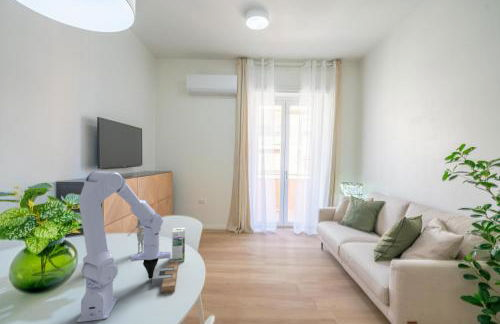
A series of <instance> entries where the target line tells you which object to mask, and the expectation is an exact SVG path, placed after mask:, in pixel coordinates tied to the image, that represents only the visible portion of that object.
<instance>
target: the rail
mask: <svg viewBox="0 0 500 324" xmlns="http://www.w3.org/2000/svg"><path fill="white" fill-rule="evenodd" d="M172 267H173V271H165V275H172V278H168V279H163V283H162V285H161V294H169V293H175V292H176V286H177V285H176V284H177V278H178V273H179V272H178V271H179V262H178V261H172V260H171V261H167V264H166V266H165V268H172Z"/></svg>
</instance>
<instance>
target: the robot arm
mask: <svg viewBox="0 0 500 324" xmlns="http://www.w3.org/2000/svg"><path fill="white" fill-rule="evenodd" d="M115 193H116V194H117V195H118V196H119V197H121V199H123V201H125V202H126V203H127V204H128V205H129V206H130V212H131V213H132V214H133V215H134V216H135V217H136V218H137V220H138V219H139V220H140V224H141V225H142V226H144V229H143V231H144V240H143V253H141V252H140V254H138V253H136V254H131V256H130V262H131V263H132V262H136V261H143V263H142V265H143V267H144V268H145V270H146V272H147V276H148V279H149V280H152V277H153V275H154V272H155V269H156V267H157V265H158V262H159V260H160V259H161V260H162V259H163V260H164V259H167V260H170V259H172V251H169V252H168V251H167V252H166V251H160V232H161V229H162V225H163V223H164V219H163V217H162V215H161V214H159V213H156V210H155V209H154V208H153V207H151V206H150V205H149V202H148V200H144V199H139V197H138V196H137V195H136V193H135V192H134V191H133V190H132V188H131V187H130V186H129V184H128V183H127V181H126V179H125V178H124V177H122V174H121V173H118V172H117V171H103V170H93V171H91V172H90V173H89V174H88V175H87V176H86V177H84V179H83V187H82V189H81V192H80V195H79V198H78V205H79V212H80V219H81V225H82V231H83V237H84V242H85V243H84V245H85V251H86V255H85V256H84V257H83V258H82V262H83V264H82V267H81V270H80V271H81V273H80V274H81V275H82V277H84V278H85V293H84V295H83V297H82V298H81V301H80V316H79V317H78V318H77V320H76V322H77V323H83V322H92V321H99V320H107V319H108V318H109V315H110V314H111V312H112V310H113V308H114V306H116V302H117V301H118V298H114V297H113V295H114V293H113V292H114V286H113V285H114V283H113V282H114V280H115V279H116V277H117V275H118V273H119V272H118V271H119V266H118V265H117V264H116V263H115V260H114V256H112V254H111V253H110V252H109V248H108V243H107V242H108V241H107V236H106V235H107V234H106V229H105V223H104V215H103V208H102V203H103V202H104V201H105V200H106V199H107V198H109V197H110V196H112V195H113V194H115Z"/></svg>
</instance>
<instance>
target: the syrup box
mask: <svg viewBox="0 0 500 324" xmlns="http://www.w3.org/2000/svg"><path fill="white" fill-rule="evenodd" d="M171 233H172V235H171V261H178V263H180V262H185V251H186V249H185V248H186V247H185V246H186V244H185V243H186V234H185V233H186V227H177V228H176V227H175V228H172V232H171Z"/></svg>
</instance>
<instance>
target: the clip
mask: <svg viewBox="0 0 500 324" xmlns="http://www.w3.org/2000/svg"><path fill="white" fill-rule="evenodd" d="M165 271H173V267H172V268H166V267H163V268H162V267H161V268H155V269H154V273H153V277H152V279H151V286H153V287H154V286H162V283H163V279H168V278H172V275H165Z"/></svg>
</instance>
